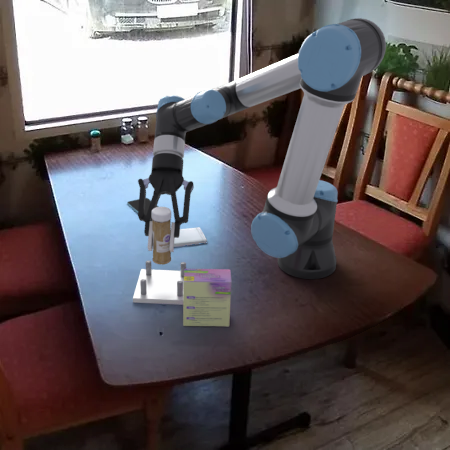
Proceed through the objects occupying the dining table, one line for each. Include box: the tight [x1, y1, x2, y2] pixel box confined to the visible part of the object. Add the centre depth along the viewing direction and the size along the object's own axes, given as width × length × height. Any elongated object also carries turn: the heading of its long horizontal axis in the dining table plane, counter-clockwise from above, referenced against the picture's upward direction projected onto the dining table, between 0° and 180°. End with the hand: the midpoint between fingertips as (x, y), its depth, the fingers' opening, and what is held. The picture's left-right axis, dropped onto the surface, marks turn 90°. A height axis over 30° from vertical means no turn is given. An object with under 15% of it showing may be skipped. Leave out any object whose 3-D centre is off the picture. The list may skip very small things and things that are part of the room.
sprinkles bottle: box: [151, 206, 172, 266], centre depth 151 cm, size 5×5×14 cm
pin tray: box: [132, 260, 187, 306], centre depth 155 cm, size 13×13×5 cm
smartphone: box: [126, 197, 160, 215], centre depth 194 cm, size 7×1×15 cm
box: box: [182, 268, 232, 328], centre depth 143 cm, size 10×6×12 cm, turn 92°
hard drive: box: [174, 226, 208, 248], centre depth 179 cm, size 2×8×12 cm
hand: (160, 249), depth 150 cm, fingers closed on sprinkles bottle, 4 cm apart
